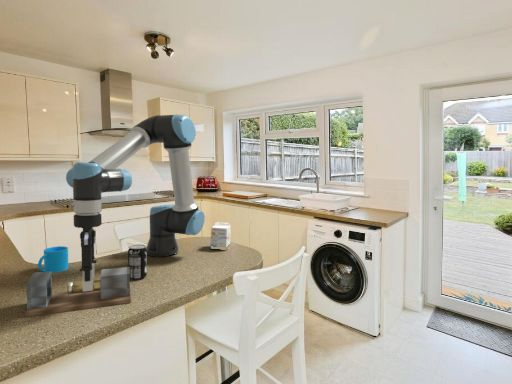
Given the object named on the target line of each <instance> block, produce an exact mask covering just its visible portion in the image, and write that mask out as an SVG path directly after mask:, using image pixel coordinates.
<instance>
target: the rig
mask: <svg viewBox="0 0 512 384" xmlns="http://www.w3.org/2000/svg"><path fill="white" fill-rule="evenodd" d="M52 277H53V274H52V271H50V272H44V271H40V272H39V271H38V272H33V274H32V275H31V276H30V278H29V279H28V280H27V281H26V304H27V305H26V307H27V308H26V309H27V310H26V311H25V318H27V317H33V316H34V317H35V316H39V315H40V316H41V315H48V314H57V313H63V312H64V313H65V312H71V311H79V310H86V309H94V308H102V307H108V306H116V305H125V304H131V302H132V298H131V297H132V296H131V279H130V269H129V267H128V266H126V267H115V268H104V269H103V268H102V269H101V271H100V277H99V279H100V281H101V291H93V292H84V293H76V294H68V292H67V291H63V292H55V293H54V292H53V281H52V280H53V279H52Z"/></svg>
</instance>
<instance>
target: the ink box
mask: <svg viewBox="0 0 512 384" xmlns="http://www.w3.org/2000/svg"><path fill="white" fill-rule="evenodd" d="M210 230H211V231H210V247H211V246H213V247H227V246H228V245H229V244H230V245H231V234H232V233H231V232H232V225H231V224H230V223H229V222H220V221H215V222H214V225H213V226H212V227H210Z"/></svg>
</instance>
